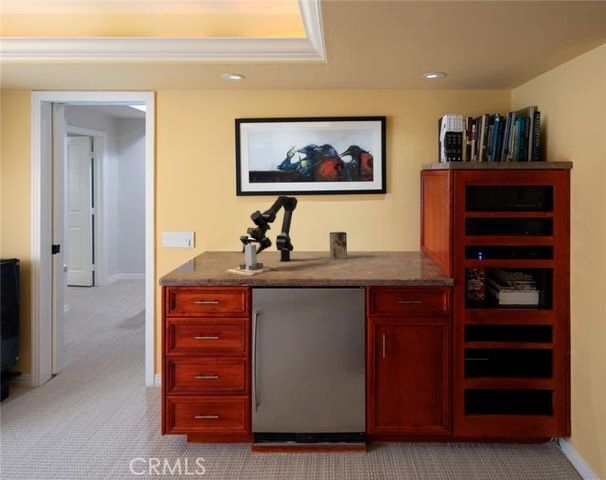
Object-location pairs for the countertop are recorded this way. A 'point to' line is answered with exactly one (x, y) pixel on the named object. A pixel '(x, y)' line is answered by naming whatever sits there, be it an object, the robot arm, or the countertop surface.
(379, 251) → the countertop surface
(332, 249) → the coffee box
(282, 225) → the robot arm
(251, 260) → the block
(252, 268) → the board
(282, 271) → the countertop surface
